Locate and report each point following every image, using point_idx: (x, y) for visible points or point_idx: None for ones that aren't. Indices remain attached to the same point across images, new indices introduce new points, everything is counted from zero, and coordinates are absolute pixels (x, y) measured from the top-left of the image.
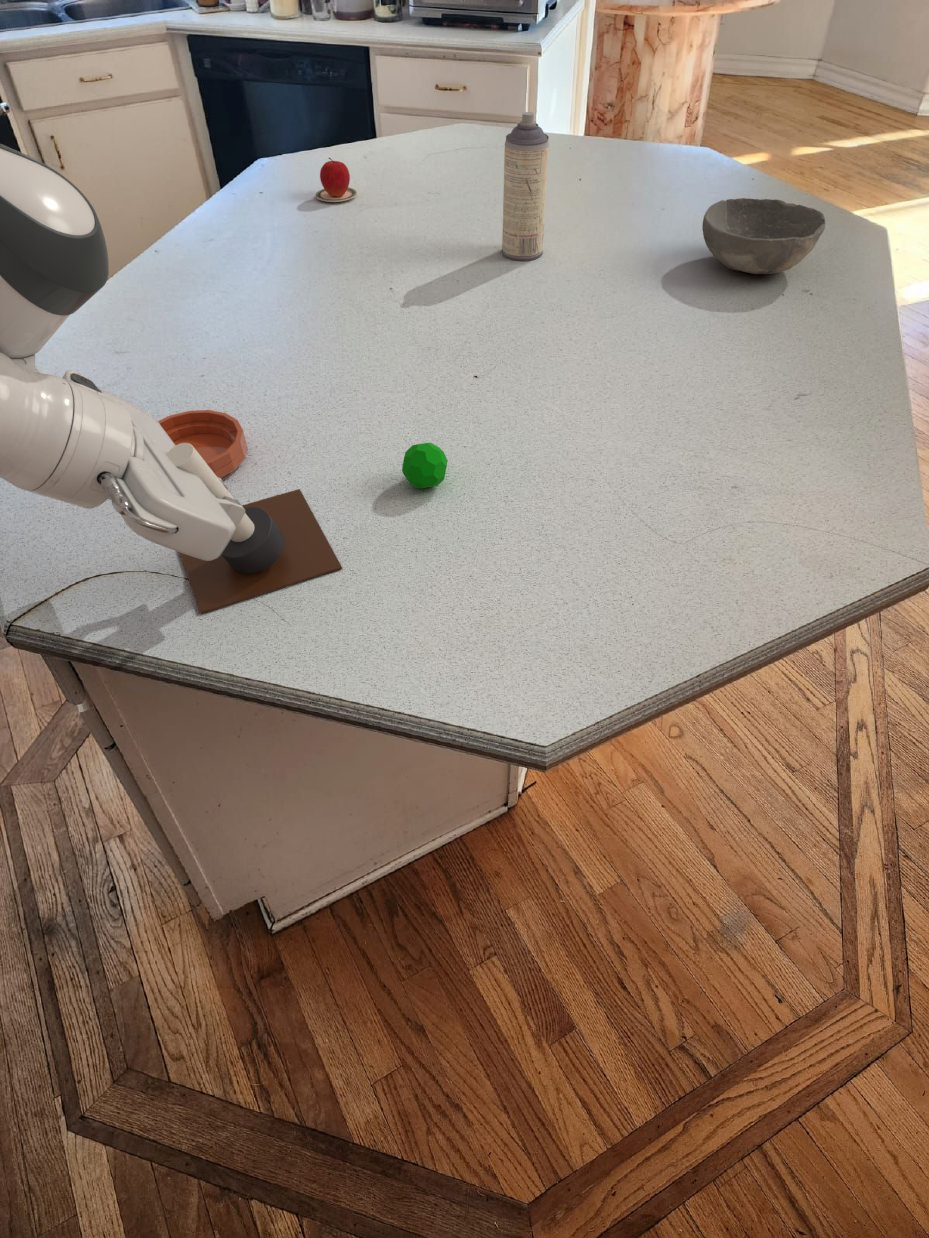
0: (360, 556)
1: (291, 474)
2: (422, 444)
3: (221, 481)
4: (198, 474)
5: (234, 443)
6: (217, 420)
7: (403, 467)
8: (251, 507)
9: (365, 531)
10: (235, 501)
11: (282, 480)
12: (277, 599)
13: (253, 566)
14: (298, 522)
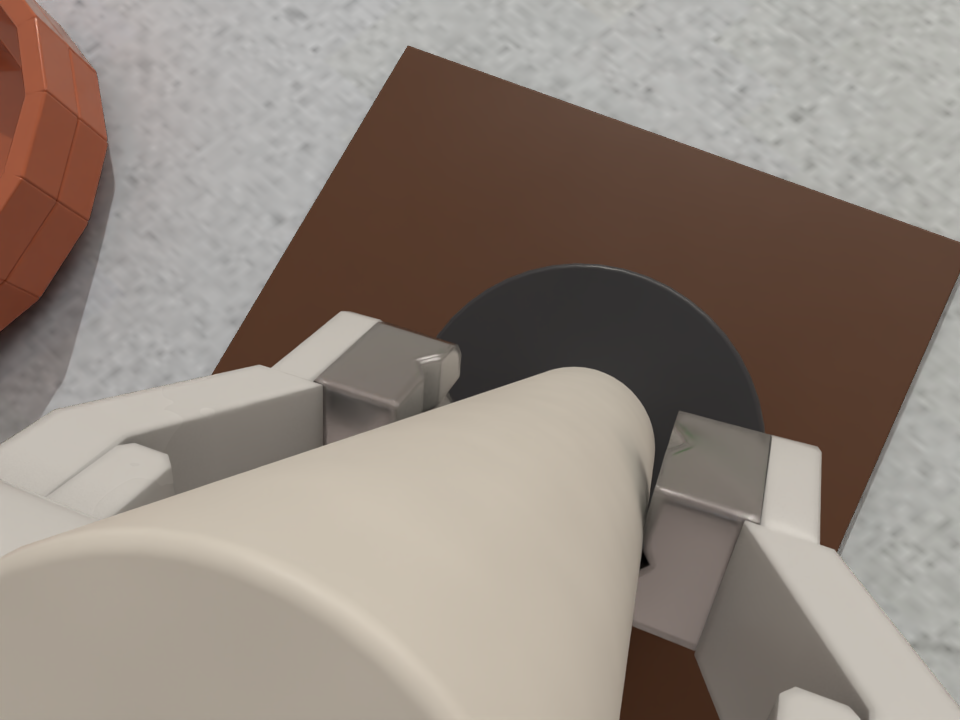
0: (957, 147)
1: (307, 14)
2: None
3: (389, 336)
4: None
5: (24, 37)
6: None
7: None
8: (495, 291)
9: (836, 35)
10: (723, 448)
11: (302, 57)
12: (895, 580)
13: None
14: (567, 177)
